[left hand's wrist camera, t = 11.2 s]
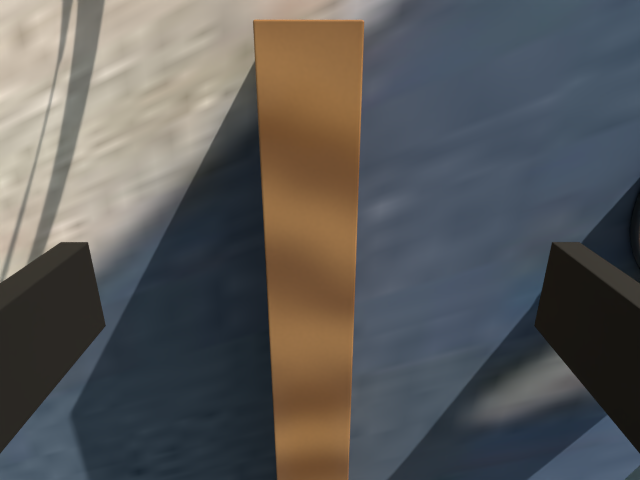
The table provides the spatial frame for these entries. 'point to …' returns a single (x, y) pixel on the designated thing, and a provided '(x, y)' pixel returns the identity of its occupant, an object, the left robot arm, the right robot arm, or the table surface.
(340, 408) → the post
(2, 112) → the table surface
